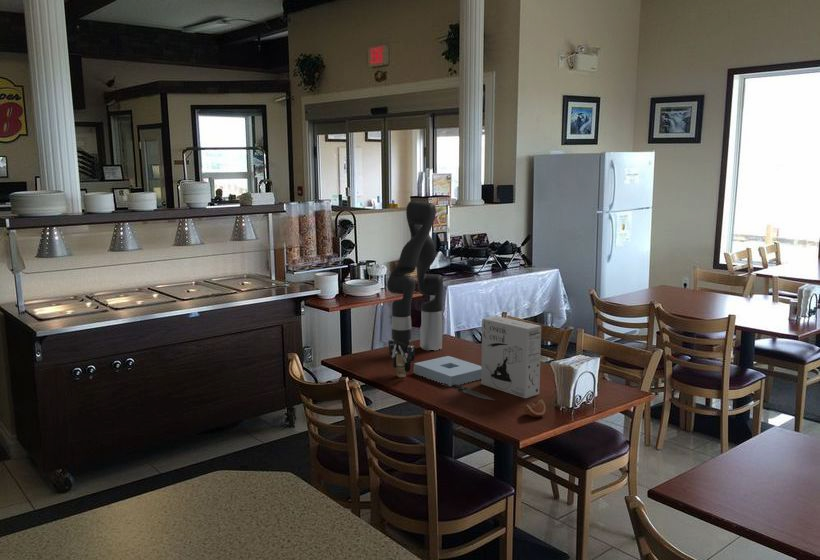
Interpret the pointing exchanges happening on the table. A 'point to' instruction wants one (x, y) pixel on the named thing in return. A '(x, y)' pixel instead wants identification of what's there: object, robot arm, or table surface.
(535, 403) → the fruit slice
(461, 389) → the knife
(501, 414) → the table surface
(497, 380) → the cereal box
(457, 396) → the table surface
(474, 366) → the board
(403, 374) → the peg
